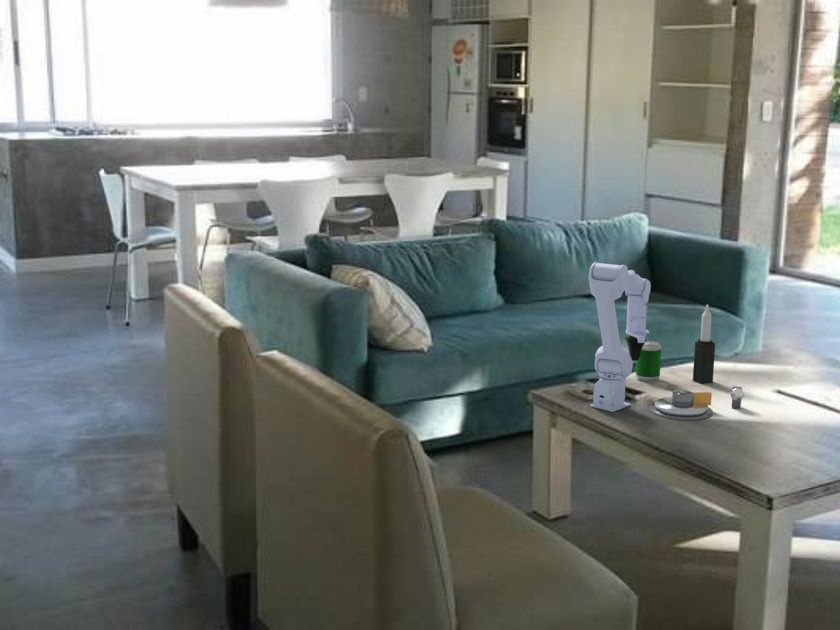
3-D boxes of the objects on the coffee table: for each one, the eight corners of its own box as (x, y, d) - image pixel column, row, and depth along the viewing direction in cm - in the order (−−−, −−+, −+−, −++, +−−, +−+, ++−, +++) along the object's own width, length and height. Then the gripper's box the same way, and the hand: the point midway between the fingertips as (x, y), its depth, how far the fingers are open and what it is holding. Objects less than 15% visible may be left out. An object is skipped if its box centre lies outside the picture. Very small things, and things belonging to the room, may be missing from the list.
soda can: (661, 382, 335) (663, 345, 332) (638, 382, 335) (639, 345, 332) (657, 376, 342) (658, 340, 340) (633, 375, 342) (635, 339, 340)
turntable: (661, 416, 299) (662, 400, 298) (649, 401, 313) (650, 385, 312) (717, 416, 299) (718, 400, 298) (703, 400, 313) (703, 385, 312)
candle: (691, 380, 337) (695, 303, 332) (703, 378, 339) (708, 302, 334) (701, 384, 333) (706, 306, 327) (714, 382, 335) (719, 305, 329)
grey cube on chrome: (742, 409, 307) (744, 389, 306) (729, 408, 308) (731, 388, 306) (742, 406, 310) (743, 386, 309) (729, 405, 311) (730, 385, 309)
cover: (675, 408, 303) (675, 394, 302) (669, 401, 308) (670, 388, 308) (695, 407, 303) (696, 394, 302) (689, 401, 309) (690, 388, 308)
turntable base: (692, 424, 294) (692, 423, 294) (637, 410, 306) (637, 409, 306) (724, 410, 306) (724, 409, 306) (670, 397, 319) (670, 396, 318)
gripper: (656, 322, 313) (653, 366, 316) (643, 311, 327) (641, 353, 330) (632, 322, 313) (630, 366, 316) (620, 311, 327) (619, 354, 330)
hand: (634, 360), depth 323 cm, fingers closed
